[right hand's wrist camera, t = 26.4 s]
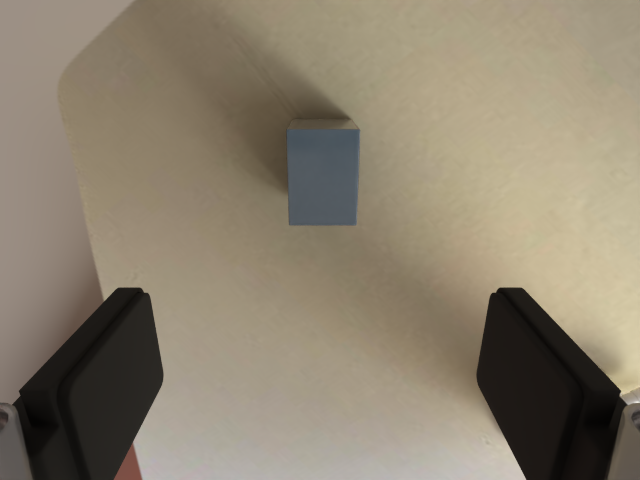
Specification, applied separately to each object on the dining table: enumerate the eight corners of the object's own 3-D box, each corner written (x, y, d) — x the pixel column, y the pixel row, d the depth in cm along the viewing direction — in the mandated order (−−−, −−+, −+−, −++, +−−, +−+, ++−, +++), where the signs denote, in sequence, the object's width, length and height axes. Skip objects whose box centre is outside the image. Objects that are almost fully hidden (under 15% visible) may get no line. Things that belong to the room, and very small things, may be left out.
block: (294, 198, 37) (288, 225, 31) (292, 118, 35) (286, 129, 28) (350, 199, 37) (356, 225, 31) (352, 119, 35) (360, 129, 28)
